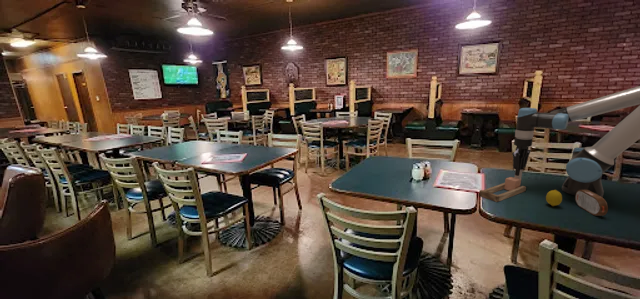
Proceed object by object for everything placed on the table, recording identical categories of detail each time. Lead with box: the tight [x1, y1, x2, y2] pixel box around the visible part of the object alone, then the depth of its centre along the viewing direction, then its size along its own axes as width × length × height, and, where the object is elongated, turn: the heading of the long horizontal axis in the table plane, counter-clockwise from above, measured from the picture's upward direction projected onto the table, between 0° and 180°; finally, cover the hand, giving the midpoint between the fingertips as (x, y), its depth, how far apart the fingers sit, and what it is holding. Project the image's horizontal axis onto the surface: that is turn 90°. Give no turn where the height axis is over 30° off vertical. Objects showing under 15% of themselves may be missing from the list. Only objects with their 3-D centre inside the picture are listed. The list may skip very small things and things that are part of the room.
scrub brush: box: [574, 190, 609, 217], centre depth 116 cm, size 15×3×8 cm, turn 168°
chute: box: [478, 182, 527, 203], centre depth 138 cm, size 9×25×3 cm, turn 117°
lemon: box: [545, 189, 563, 207], centre depth 122 cm, size 6×6×8 cm
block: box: [503, 176, 522, 191], centre depth 142 cm, size 5×5×6 cm
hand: (517, 180), depth 144 cm, fingers closed
